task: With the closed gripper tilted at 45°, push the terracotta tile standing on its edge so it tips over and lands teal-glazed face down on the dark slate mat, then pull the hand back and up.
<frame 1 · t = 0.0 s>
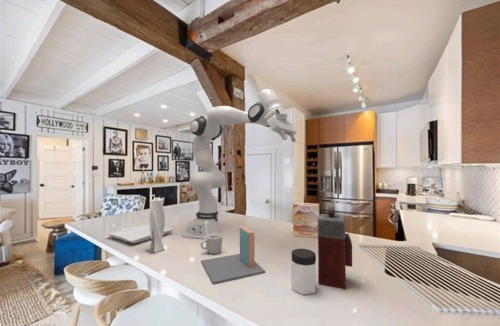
hand: (290, 140, 103), 54 cm above the countertop, tool tilted 30°, fingers open, 8 cm apart
mat: (231, 267, 91), on the countertop
skyscraper: (156, 250, 110), on the countertop
coffeecake box: (306, 236, 132), on the countertop
cup: (211, 253, 106), on the countertop
square plate: (141, 237, 132), on the countertop
maroon box with knob: (335, 281, 79), on the countertop
jar: (303, 288, 75), on the countertop
tile: (246, 262, 93), point 1 cm above the countertop, touching mat
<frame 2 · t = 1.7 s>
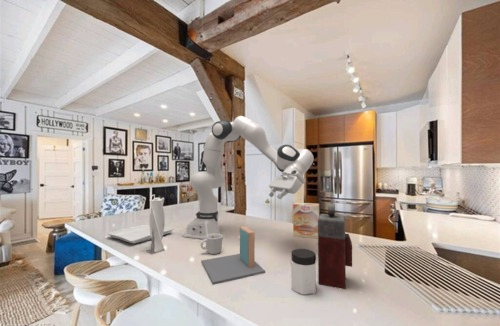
hand: (274, 197, 103), 27 cm above the countertop, tool tilted 45°, fingers open, 6 cm apart
nothing on the countertop moved.
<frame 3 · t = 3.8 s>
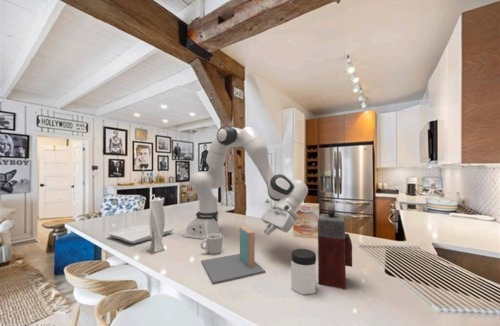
hand: (265, 233, 97), 12 cm above the countertop, tool tilted 45°, fingers closed
nothing on the countertop moved.
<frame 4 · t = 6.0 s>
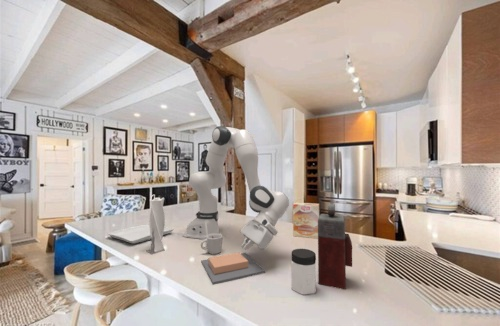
hand: (243, 248, 93), 7 cm above the countertop, tool tilted 45°, fingers closed
tile: (243, 259, 93), point 2 cm above the countertop, tilted 90°, touching mat
everything else where it was.
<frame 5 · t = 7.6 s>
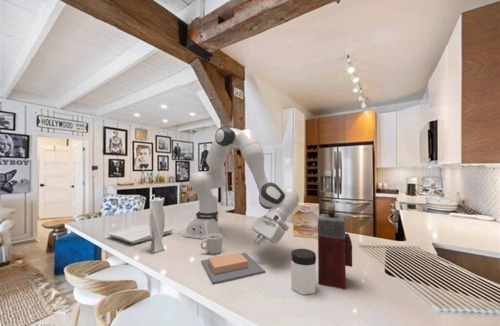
hand: (255, 243, 95), 8 cm above the countertop, tool tilted 45°, fingers closed
nothing on the countertop moved.
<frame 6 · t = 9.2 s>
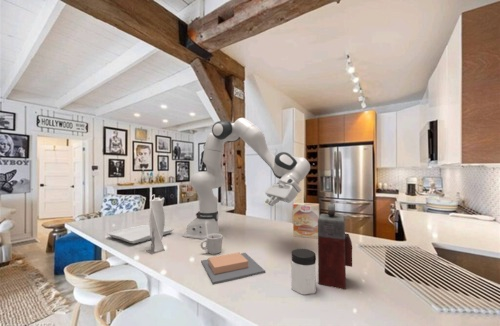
hand: (270, 204, 105), 24 cm above the countertop, tool tilted 45°, fingers closed
nothing on the countertop moved.
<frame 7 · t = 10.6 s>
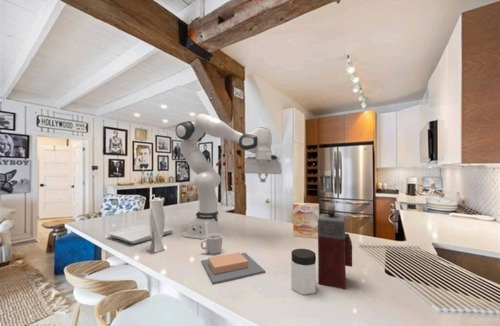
hand: (262, 182, 119), 33 cm above the countertop, tool pointing down, fingers closed
nothing on the countertop moved.
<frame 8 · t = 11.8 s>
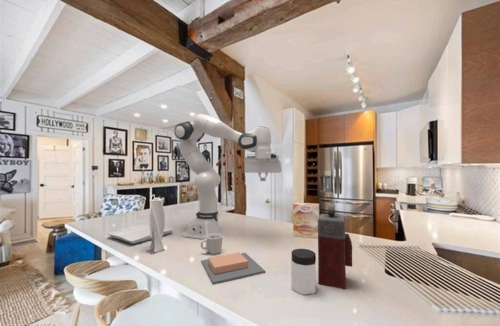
hand: (263, 181, 120), 34 cm above the countertop, tool pointing down, fingers closed
nothing on the countertop moved.
at the end: tile tilted 90°; tile touching mat; tile inside the target area on the mat (4.6 cm from its centre), point 2.2 cm above the mat's base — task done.
